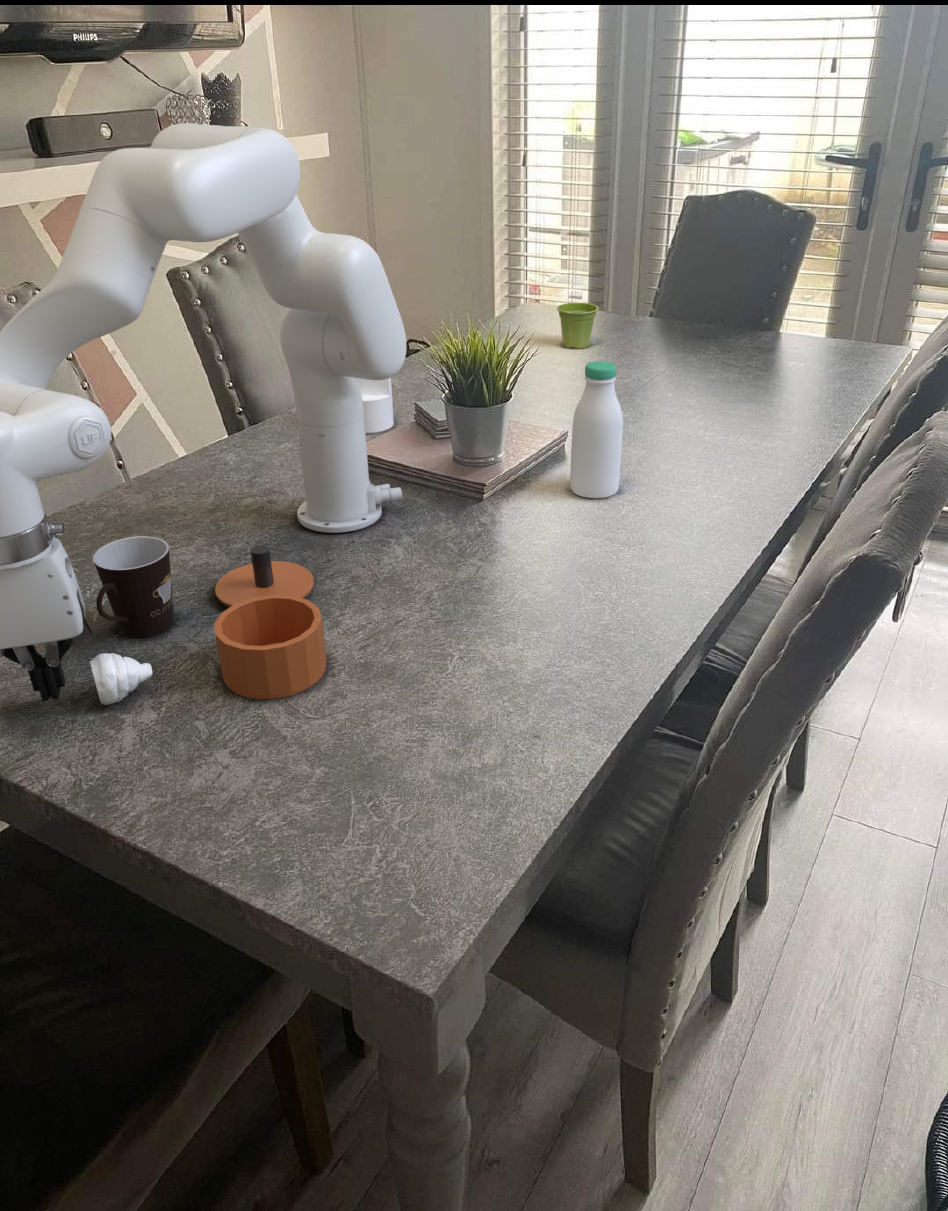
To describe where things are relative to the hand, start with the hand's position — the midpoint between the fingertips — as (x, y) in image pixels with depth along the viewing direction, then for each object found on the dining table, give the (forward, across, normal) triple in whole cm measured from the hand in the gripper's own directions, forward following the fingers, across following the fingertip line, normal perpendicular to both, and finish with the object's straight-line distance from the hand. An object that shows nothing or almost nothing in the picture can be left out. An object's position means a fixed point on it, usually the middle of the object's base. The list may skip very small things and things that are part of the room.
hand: (51, 692), depth 103 cm
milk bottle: (+2, -77, -36) cm, 85 cm away
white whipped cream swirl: (+2, -8, 0) cm, 8 cm away
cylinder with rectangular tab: (+2, -49, -77) cm, 91 cm away
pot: (+2, -24, 0) cm, 24 cm away
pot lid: (+1, -24, -19) cm, 31 cm away
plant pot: (+2, -105, -114) cm, 155 cm away
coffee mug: (+2, -8, -14) cm, 16 cm away
